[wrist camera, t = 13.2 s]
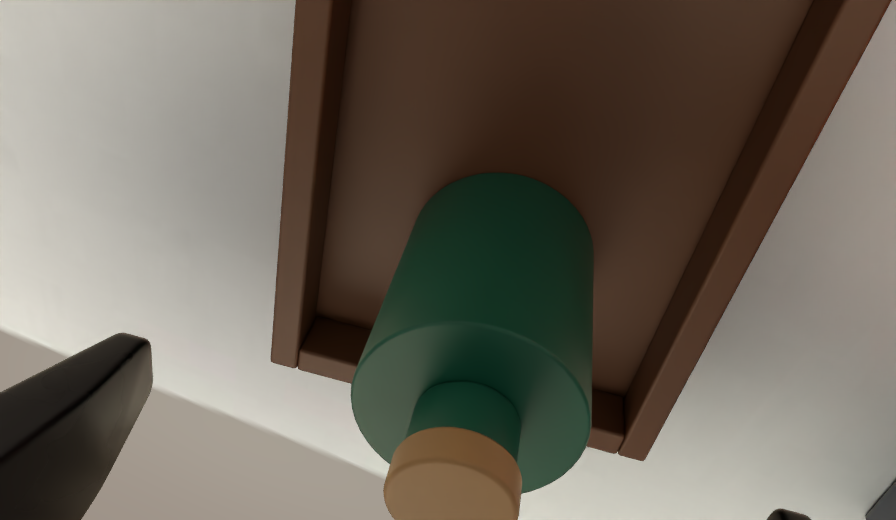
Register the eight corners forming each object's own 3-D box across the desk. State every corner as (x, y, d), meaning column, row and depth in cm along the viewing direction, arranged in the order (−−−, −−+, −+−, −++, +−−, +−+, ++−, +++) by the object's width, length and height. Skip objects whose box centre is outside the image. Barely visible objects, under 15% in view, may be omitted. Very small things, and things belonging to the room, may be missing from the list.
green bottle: (618, 198, 13) (630, 455, 8) (563, 342, 16) (547, 615, 11) (429, 150, 14) (329, 374, 9) (400, 299, 16) (306, 550, 11)
